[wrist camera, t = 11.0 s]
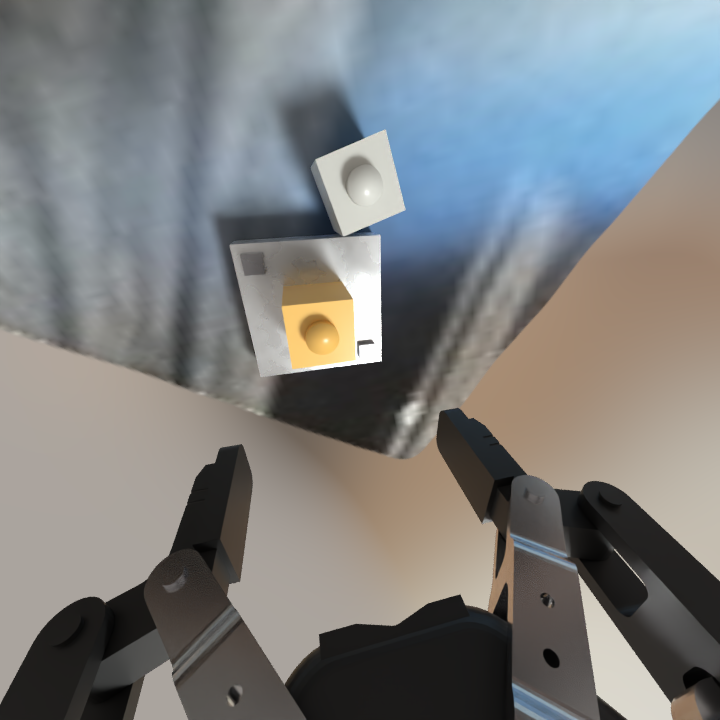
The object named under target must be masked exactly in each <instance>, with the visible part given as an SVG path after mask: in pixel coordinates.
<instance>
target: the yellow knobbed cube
mask: <svg viewBox="0 0 720 720" xmlns="http://www.w3.org/2000/svg"><path fill="white" fill-rule="evenodd" d="M282 312H283V318H284V323H285V329H286V335H287V341H288V347H289V353H290V358H291V364H292V369H298V368H306V367H313V366H321V365H328V364H336V363H343V362H351V361H356V343H355V322H354V301H353V298H352V296H351V295H350V293H349V292H348V290H347V289H346V287H345V286H344V284H343V283H342V281H339V282H327V283H316V284H304V285H293V286H283V295H282Z"/></svg>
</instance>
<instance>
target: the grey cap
mask: <svg viewBox="0 0 720 720" xmlns="http://www.w3.org/2000/svg"><path fill="white" fill-rule="evenodd" d="M311 171H312V174H313V176H314V179H315V182H316V184H317V187H318V190H319V192H320V195H321V198H322V200H323V203H324V205H325V208H326V211H327V213H328V216H329V219H330V221H331V224H332V227H333V229H334V231H335V232H337V233H339V234H340V235H342V236H343V237H344V236H346V235H349V234H351V233H353V232H355V231H358V230H360V229H362V228H365V227H367V226H369V225H372V224H374V223H376V222H379V221H381V220H383V219H386V218H388V217H390V216H393V215H395V214H397V213H400V212H402V211H404V210H405V206H404V202H403V198H402V194H401V190H400V186H399V182H398V178H397V174H396V170H395V166H394V162H393V158H392V154H391V150H390V146H389V141H388V137H387V133H386V129H385V130H383V131H381V132H378V133H376V134H374V135H371V136H369V137H367V138H364V139H362V140H360V141H357V142H355V143H353V144H350V145H348V146H346V147H343V148H341V149H339V150H336V151H334V152H332V153H329V154H327V155H325V156H322V157H320V158H318V159H315V161H314V163H313V164H312V166H311Z"/></svg>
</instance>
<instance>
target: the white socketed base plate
mask: <svg viewBox="0 0 720 720" xmlns="http://www.w3.org/2000/svg"><path fill="white" fill-rule="evenodd" d="M230 250H231V254H232V258H233V262H234V266H235V271H236V275H237V279H238V283H239V287H240V292H241V296H242V300H243V304H244V308H245V313H246V317H247V321H248V325H249V329H250V334H251V338H252V342H253V346H254V350H255V355H256V359H257V363H258V367H259V371H260V376H261V377H266V376H273V375H280V374H288V373H295V372H302V371H310V370H317V369H324V368H331V367H339V366H346V365H353V364H361V363H368V362H375V361H381V259H380V235H379V234H376V233H373V232H362V233H351V234H349V235H346V236H344V237H343V236H342V235H340V234H330V235H314V236H298V237H282V238H266V239H250V240H235V241H234V242H233V243H231V244H230ZM339 281H342V283H343V284H344V286H345V287H346V289H347V290H348V292H349V293H350V295H351V296H352V298H353V301H354V322H355V343H356V361H351V362H343V363H336V364H328V365H321V366H313V367H306V368H298V369H292V364H291V358H290V353H289V347H288V341H287V335H286V329H285V323H284V318H283V312H282V295H283V286H293V285H304V284H316V283H327V282H339Z"/></svg>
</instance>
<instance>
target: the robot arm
mask: <svg viewBox="0 0 720 720" xmlns="http://www.w3.org/2000/svg"><path fill="white" fill-rule="evenodd" d="M436 439H437V446H438V449H439V451H440V453H441V455H442V457H443V458H444V460H445V462H446V463H447V465H448V467H449V469H450V470H451V472H452V474H453V475H454V477H455V479H456V480H457V482H458V484H459V485H460V487H461V489H462V490H463V492H464V494H465V495H466V497H467V499H468V500H469V502H470V504H471V506H472V507H473V509H474V511H475V512H476V514H477V516H478V517H479V519H480V521H481V522H482V523H483V524H484V523H488V522H492V521H493V522H494V524H495V525H496V527H497V530H496V538H495V553H494V568H493V581H492V589H491V594H490V599H489V605H488V611H486V610H483V609H480V608H477V607H473V606H466V605H465V604H464V602H463V599H462V597H461V595H457V596H453V597H449V598H446V599H443V600H439V601H435V602H432V603H428V604H427V605H425V606H424V607H422V608H421V609H419V610H418V611H417V612H415V613H414V614H412V615H411V616H410V617H408V618H407V619H405V620H404V621H402V622H401V623H400V624H398V625H396V626H383V625H366V624H354V625H350V626H347V627H343V628H340V629H336V630H333V631H330V632H326V633H322V634H319V640H320V646H319V647H318V648H316V649H315V650H313V651H312V652H311V653H310V654H309V655H308V656H307V657H306V658H304V659H303V660H302V662H301V663H300V664H299V665H298V666H297V667H296V669H295V670H294V671H293V673H292V674H291V675H290V677H289V678H288V680H287V682H286V683H285V685H284V683H283V682H282V680H281V679H280V677H279V676H278V674H277V673H276V671H275V669H274V668H273V666H272V665H271V663H270V661H269V660H268V658H267V657H266V655H265V654H264V652H263V650H262V649H261V647H260V646H259V644H258V643H257V641H256V639H255V638H254V636H253V635H252V633H251V632H250V630H249V628H248V627H247V625H246V624H245V622H244V621H243V619H242V618H241V616H240V615H239V613H238V612H237V610H236V609H235V608H234V607H233V605H232V604H231V602H230V600H229V599H228V597H227V593H228V587H229V584H231V583H236V582H240V578H241V571H242V563H243V555H244V548H245V540H246V533H247V524H248V518H249V510H250V502H251V495H252V486H253V485H252V484H253V483H252V482H253V481H252V473H251V470H250V466H249V463H248V460H247V457H246V453H245V450H244V447H243V445H242V444H241V445H235V446H229V447H223V448H220V449H219V452H218V455H217V459H216V462H215V463H214V464H208V465H205V467H204V468H203V469H202V470H201V472H200V473H199V474H198V476H197V477H196V479H195V481H194V485H193V487H192V490H191V494H190V496H189V499H188V502H187V506H186V508H185V511H184V514H183V517H182V520H181V523H180V525H179V528H178V532H177V535H176V537H175V540H174V543H173V546H172V549H171V551H170V554H169V556H168V557H166V558H165V559H164V560H162V561H161V562H160V563H159V564H158V565H157V566H156V567H155V569H154V570H153V571H152V572H151V574H150V576H149V577H148V579H147V580H146V581H144V582H143V583H141V584H139V585H138V586H136V587H134V588H132V589H130V590H128V591H126V592H125V593H123V594H121V595H119V596H117V597H115V598H113V599H111V600H110V601H108V602H106V603H105V602H104V601H103V600H101V599H100V598H97V597H87V598H83V599H80V600H78V601H76V602H74V603H72V604H70V605H69V606H67V607H66V608H64V609H63V610H62V611H60V612H59V613H58V614H57V615H55V616H54V617H53V618H52V619H51V620H50V621H49V622H48V623H47V624H46V625H45V627H44V628H43V629H42V630H41V632H40V633H39V634H38V636H37V638H36V639H35V641H34V642H33V644H32V646H31V648H30V650H29V651H28V653H27V655H26V657H25V659H24V661H23V663H22V665H21V666H20V668H19V670H18V672H17V674H16V676H15V678H14V680H13V682H12V683H11V685H10V687H9V689H8V691H7V693H6V695H5V696H4V698H3V700H2V702H1V704H0V720H133V719H134V715H135V711H136V707H137V703H138V699H139V696H140V692H141V688H142V684H143V680H144V677H145V674H147V673H149V672H150V671H152V670H153V669H155V668H157V667H158V666H160V665H161V664H163V663H164V662H166V661H167V660H169V659H170V661H171V664H172V667H173V672H172V677H173V681H174V685H175V687H176V690H177V692H178V695H179V697H180V700H181V702H182V705H183V707H184V710H185V712H186V715H187V717H188V720H627V719H626V718H624V717H623V716H622V715H621V714H620V713H618V712H617V711H616V710H615V709H613V708H612V707H611V706H610V705H609V704H607V703H606V702H605V701H603V700H602V699H601V698H600V697H599V696H597V695H596V689H595V682H594V676H593V669H592V663H591V656H590V649H589V643H588V636H587V629H586V623H585V616H584V610H583V603H582V596H581V590H580V583H579V577H578V573H579V575H580V576H581V578H582V579H583V580H584V582H585V583H586V585H587V586H588V587H589V589H590V590H591V592H592V593H593V594H594V596H595V597H596V599H597V600H598V601H599V603H600V604H601V606H602V607H603V608H604V610H605V611H606V613H607V614H608V615H609V617H610V618H611V620H612V621H613V622H614V624H615V625H616V627H617V628H618V629H619V631H620V632H621V633H622V635H623V636H624V638H625V639H626V641H627V642H628V643H629V645H630V646H631V647H632V649H633V650H634V652H635V653H636V655H637V656H638V657H639V659H640V660H641V661H642V663H643V664H644V666H645V667H646V669H647V670H648V671H649V673H650V674H651V676H652V677H653V678H654V680H655V681H656V683H657V684H658V685H659V687H660V688H661V690H662V691H663V692H664V694H665V695H666V697H667V698H668V699H669V701H670V702H671V714H672V718H673V720H720V581H719V580H718V579H717V578H716V577H714V575H712V574H711V573H710V572H709V571H708V570H707V569H706V568H705V567H704V566H703V565H702V564H701V563H700V562H699V561H697V560H696V559H695V558H694V557H693V556H692V555H691V554H690V553H689V552H688V551H687V550H685V548H683V546H681V545H680V544H679V543H678V542H677V541H676V540H675V539H674V538H673V537H672V536H671V535H670V534H669V533H668V532H666V531H665V530H664V529H663V528H662V527H661V526H660V525H659V524H658V523H657V522H656V521H655V520H654V519H652V518H651V517H650V516H649V515H648V514H647V513H646V512H645V511H644V510H643V509H641V507H640V506H639V505H637V503H635V502H634V501H633V500H632V499H631V498H630V497H629V496H628V495H627V494H625V493H624V492H623V491H621V490H620V489H618V488H616V487H614V486H612V485H610V484H607V483H604V482H599V481H591V482H588V483H586V484H585V485H584V487H583V489H582V490H581V491H570V490H560V489H553V488H552V487H551V486H550V485H549V484H548V483H547V482H545V481H543V480H542V479H539V478H537V477H534V476H530V475H527V474H526V473H525V472H524V471H523V469H522V468H521V467H520V466H519V465H518V464H517V462H516V461H515V460H514V459H513V458H512V457H511V455H510V454H509V453H508V452H507V451H506V450H505V449H504V447H503V446H502V445H500V444H499V442H498V440H497V439H496V438H495V437H493V435H492V433H491V432H490V431H489V430H488V429H487V428H486V426H485V425H483V424H481V423H480V422H478V421H477V420H475V419H474V418H471V419H468V418H467V417H466V415H465V414H464V413H463V412H462V410H460V409H459V408H455V409H450V410H444V411H441V412H440V414H439V421H438V429H437V438H436ZM614 549H616V551H617V552H618V553H619V554H620V555H621V556H622V557H623V559H624V560H625V561H626V562H627V563H628V564H629V565H630V567H631V568H632V569H633V570H634V571H635V572H636V574H637V575H638V576H639V577H640V578H641V579H642V581H643V582H644V584H645V586H644V584H643V583H642V582H641V581H640V579H639V578H638V577H637V576H636V575H635V574H634V573H633V571H632V570H631V569H630V568H629V567H628V566H627V564H626V563H625V562H624V561H623V560H622V559H621V557H620V556H619V555H618V554H617V553H616V552H615V551H614Z"/></svg>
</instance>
